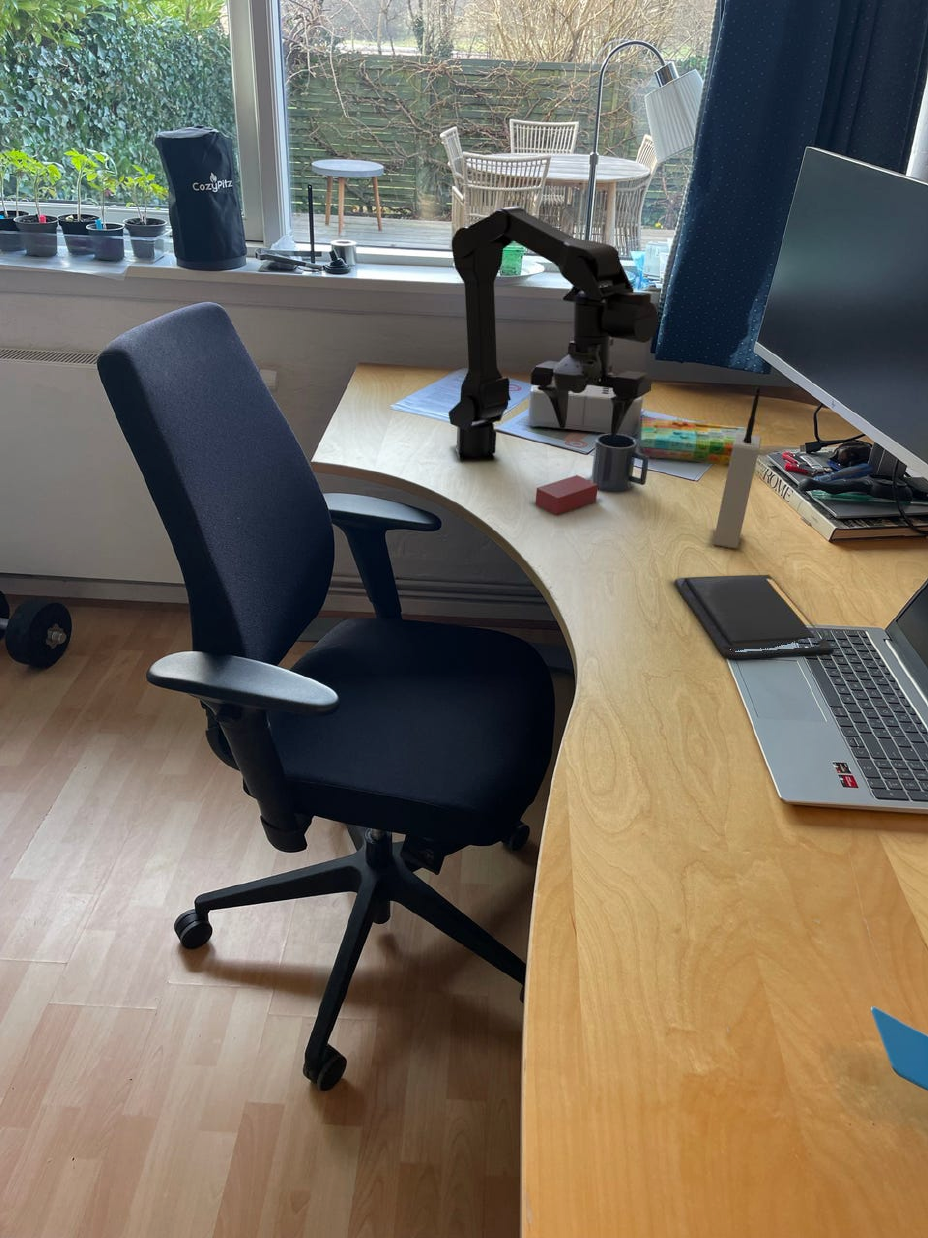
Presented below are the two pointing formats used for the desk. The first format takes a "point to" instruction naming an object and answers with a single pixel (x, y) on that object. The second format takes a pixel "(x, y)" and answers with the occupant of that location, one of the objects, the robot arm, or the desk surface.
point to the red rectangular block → (566, 494)
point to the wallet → (748, 615)
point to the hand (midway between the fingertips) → (587, 432)
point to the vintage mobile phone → (738, 484)
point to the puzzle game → (688, 440)
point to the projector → (584, 411)
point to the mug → (617, 463)
